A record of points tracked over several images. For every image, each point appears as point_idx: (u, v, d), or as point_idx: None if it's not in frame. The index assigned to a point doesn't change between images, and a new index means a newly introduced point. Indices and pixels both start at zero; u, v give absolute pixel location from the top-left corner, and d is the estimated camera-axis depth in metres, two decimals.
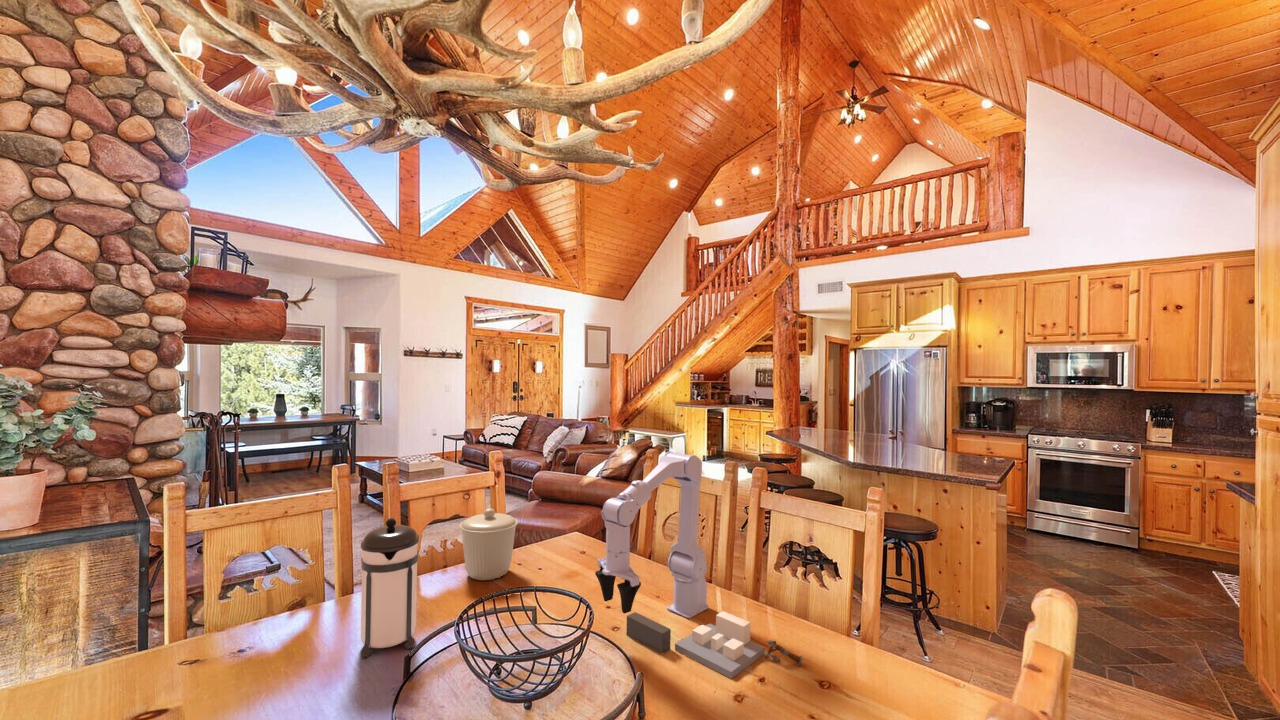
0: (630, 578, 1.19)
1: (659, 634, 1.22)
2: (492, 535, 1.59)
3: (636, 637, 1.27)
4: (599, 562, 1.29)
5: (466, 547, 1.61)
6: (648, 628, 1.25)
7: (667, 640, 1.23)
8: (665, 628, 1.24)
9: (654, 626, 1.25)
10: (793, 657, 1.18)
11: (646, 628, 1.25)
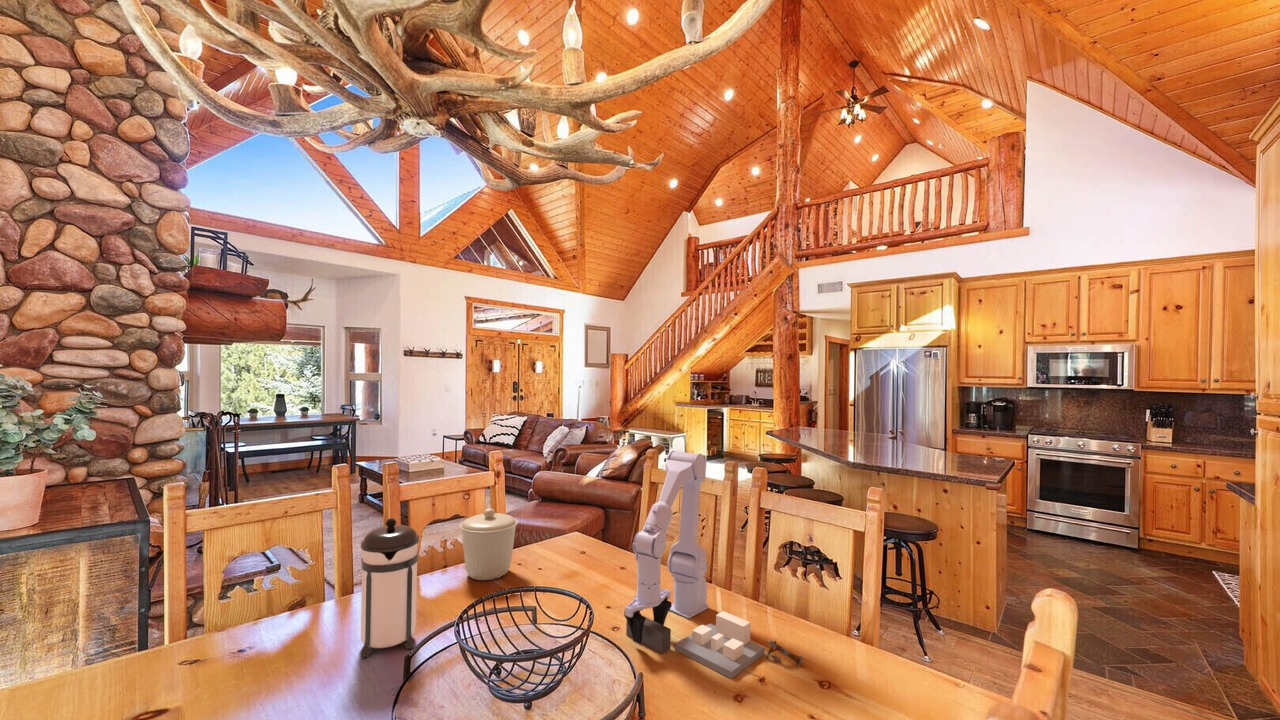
0: None
1: (659, 634, 1.22)
2: (492, 535, 1.59)
3: None
4: None
5: (466, 547, 1.61)
6: (648, 628, 1.25)
7: (667, 640, 1.23)
8: (665, 628, 1.24)
9: (654, 626, 1.25)
10: (793, 657, 1.18)
11: (646, 628, 1.25)
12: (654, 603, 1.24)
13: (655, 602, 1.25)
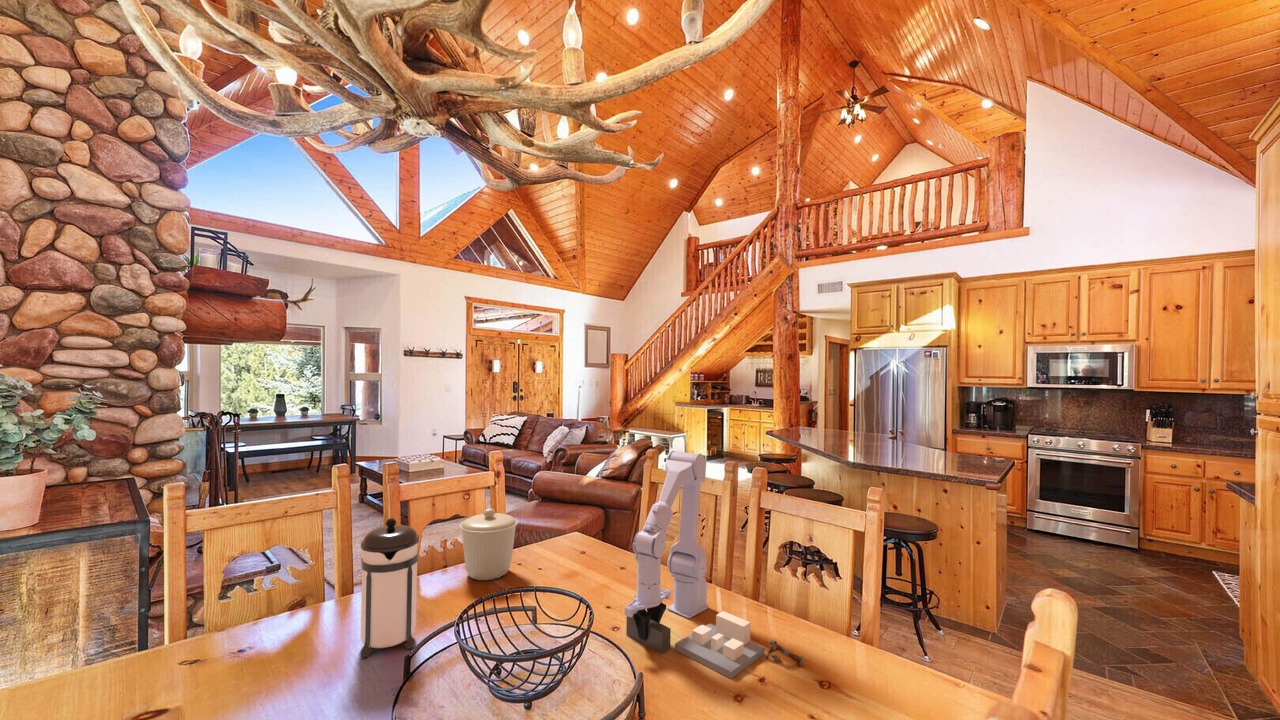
0: None
1: (659, 634, 1.22)
2: (492, 535, 1.59)
3: (636, 637, 1.27)
4: None
5: (466, 547, 1.61)
6: (648, 628, 1.25)
7: (667, 639, 1.23)
8: (665, 627, 1.24)
9: (654, 625, 1.25)
10: (794, 657, 1.18)
11: None
12: (654, 603, 1.24)
13: (655, 602, 1.25)
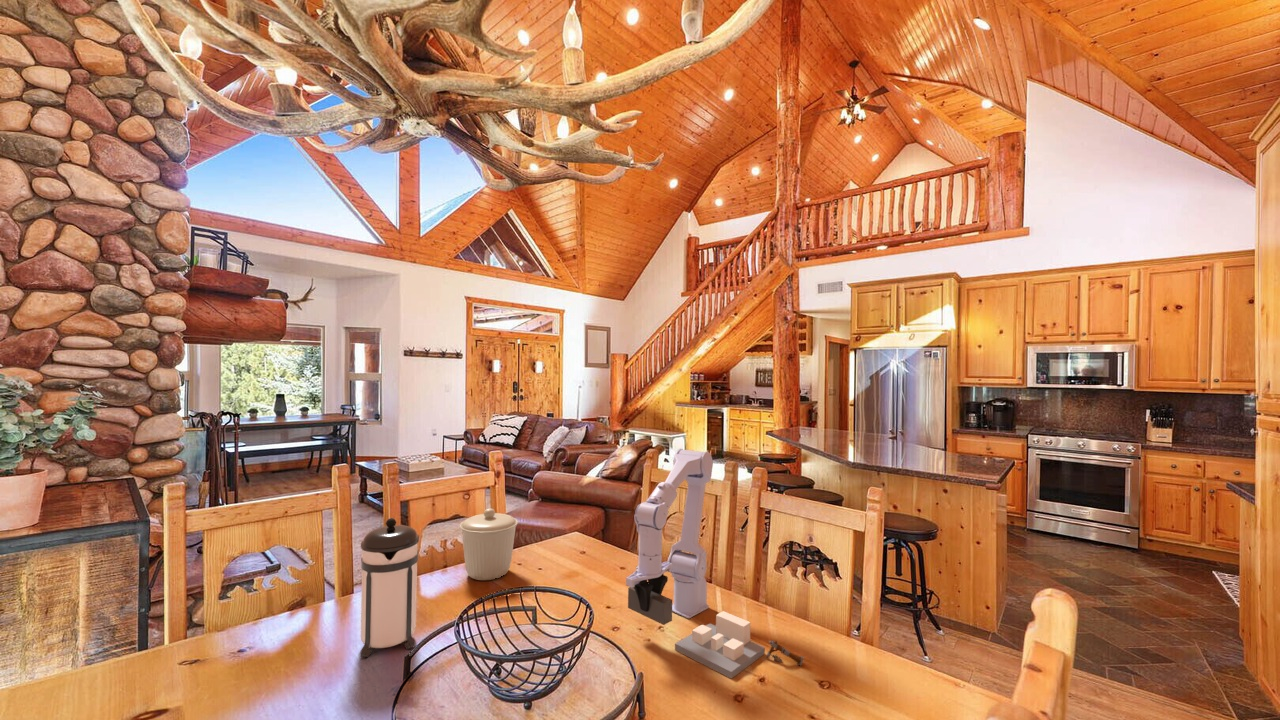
0: None
1: (661, 605, 1.22)
2: (492, 535, 1.59)
3: (638, 609, 1.27)
4: None
5: (466, 547, 1.61)
6: (650, 599, 1.25)
7: (669, 610, 1.23)
8: (667, 599, 1.24)
9: (655, 597, 1.25)
10: (794, 657, 1.18)
11: None
12: (655, 574, 1.24)
13: (656, 573, 1.25)
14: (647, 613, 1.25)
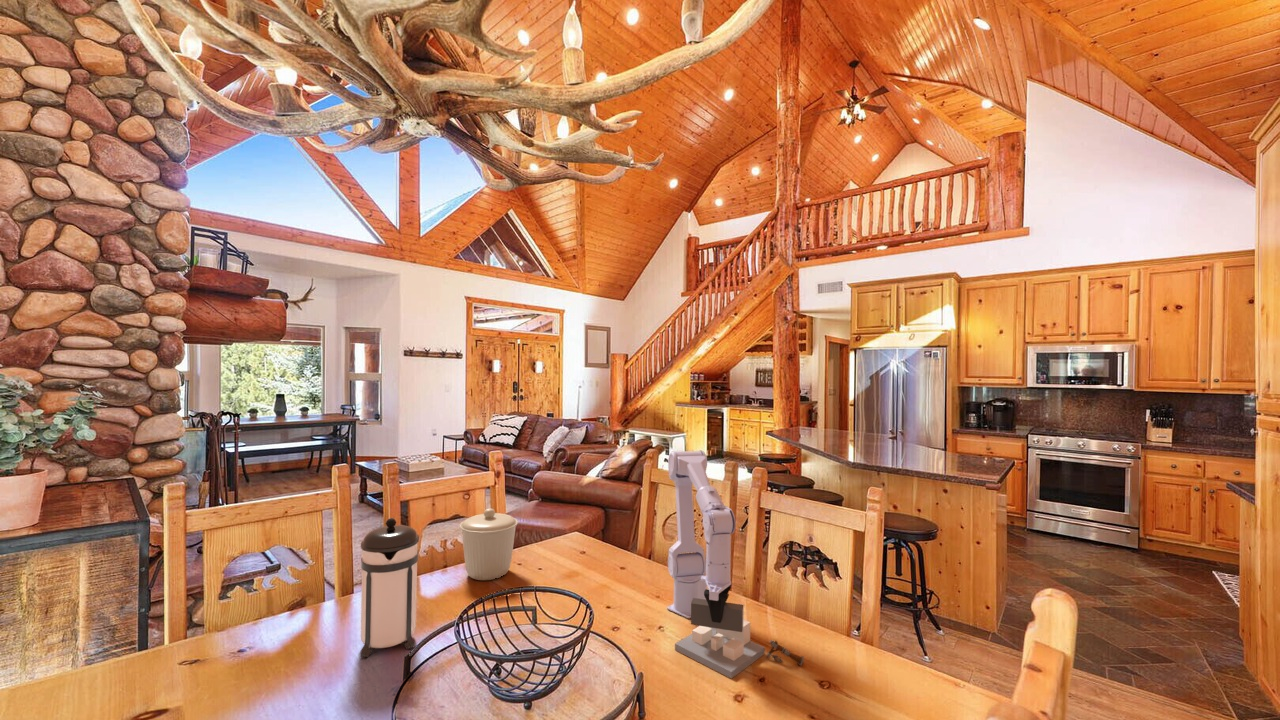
0: (709, 590, 1.16)
1: (738, 612, 1.19)
2: (492, 535, 1.59)
3: (706, 623, 1.21)
4: None
5: (466, 547, 1.61)
6: None
7: None
8: (738, 605, 1.22)
9: (727, 606, 1.21)
10: (794, 657, 1.18)
11: None
12: (729, 582, 1.21)
13: (729, 581, 1.21)
14: (719, 624, 1.21)
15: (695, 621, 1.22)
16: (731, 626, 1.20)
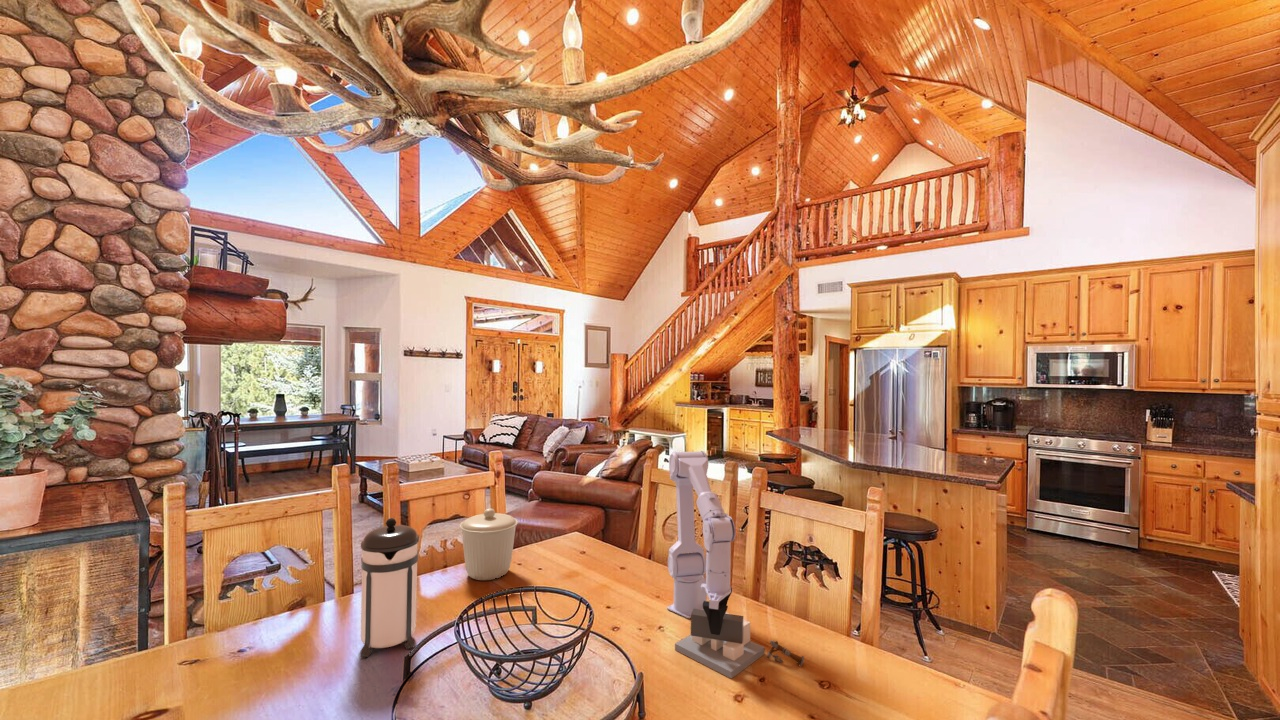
0: (709, 599, 1.16)
1: (738, 624, 1.19)
2: (492, 535, 1.59)
3: (706, 634, 1.21)
4: None
5: (466, 547, 1.61)
6: (723, 621, 1.20)
7: None
8: (738, 616, 1.22)
9: (727, 617, 1.21)
10: (795, 657, 1.18)
11: None
12: (729, 590, 1.21)
13: (729, 589, 1.21)
14: (719, 636, 1.21)
15: (695, 632, 1.22)
16: (731, 637, 1.20)
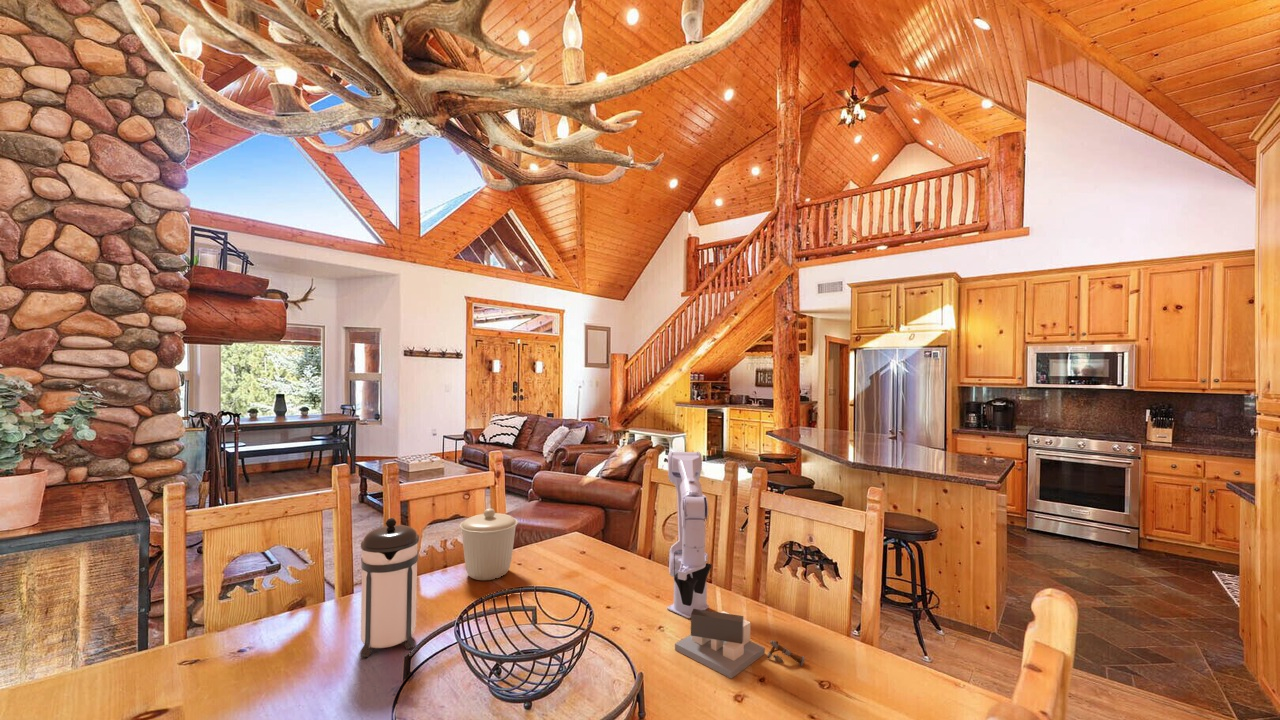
0: None
1: (738, 624, 1.19)
2: (492, 535, 1.59)
3: (706, 634, 1.21)
4: None
5: (466, 547, 1.61)
6: (723, 621, 1.20)
7: None
8: (738, 616, 1.22)
9: (727, 617, 1.21)
10: (795, 657, 1.18)
11: (719, 621, 1.21)
12: (702, 565, 1.28)
13: (703, 564, 1.28)
14: (719, 636, 1.21)
15: (695, 632, 1.22)
16: (731, 637, 1.20)
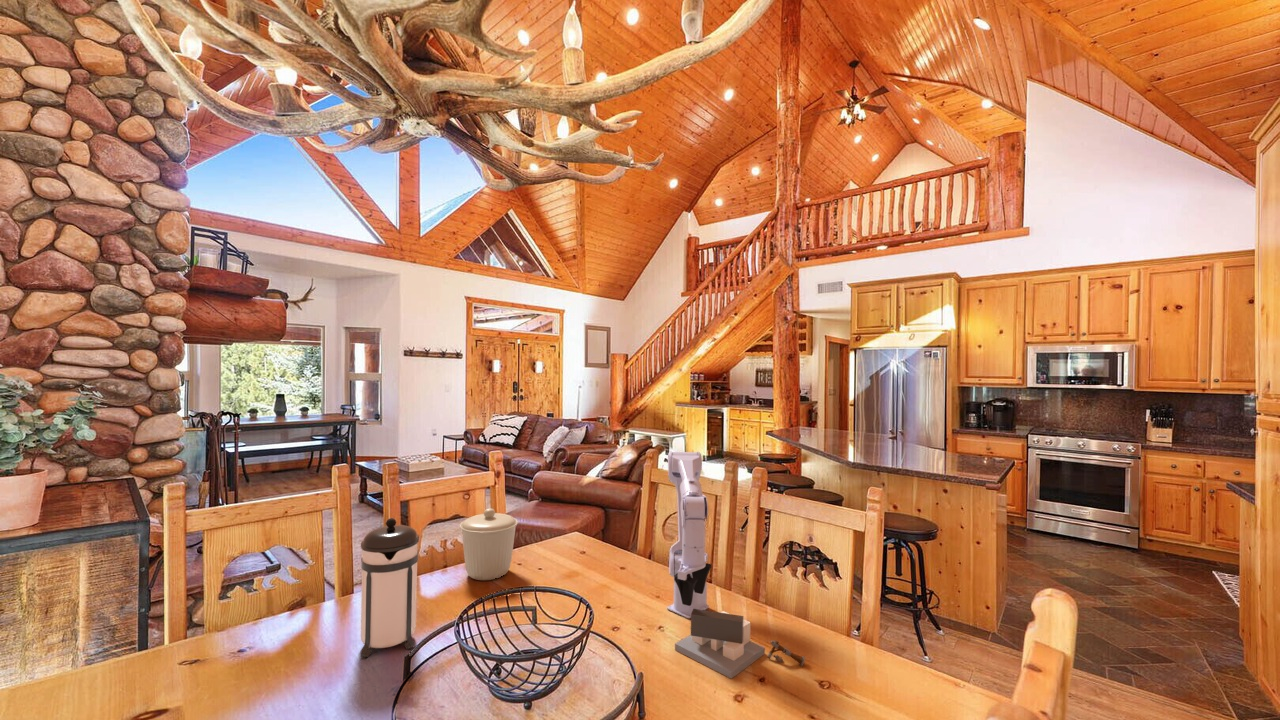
0: None
1: (738, 624, 1.19)
2: (492, 535, 1.59)
3: (706, 634, 1.21)
4: None
5: (466, 547, 1.61)
6: (723, 621, 1.20)
7: None
8: (738, 616, 1.22)
9: (727, 617, 1.21)
10: (796, 657, 1.18)
11: (719, 621, 1.21)
12: (702, 565, 1.28)
13: (703, 564, 1.28)
14: (719, 636, 1.21)
15: (695, 632, 1.22)
16: (731, 637, 1.20)
